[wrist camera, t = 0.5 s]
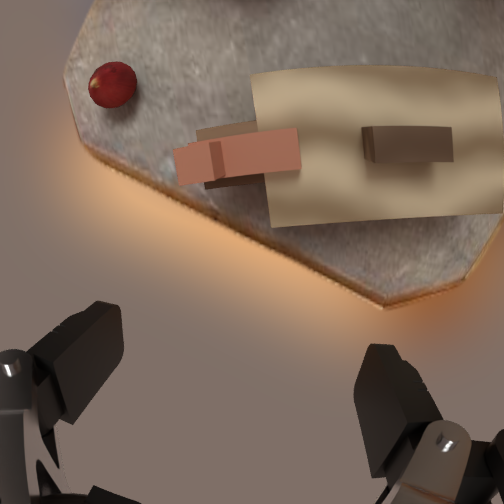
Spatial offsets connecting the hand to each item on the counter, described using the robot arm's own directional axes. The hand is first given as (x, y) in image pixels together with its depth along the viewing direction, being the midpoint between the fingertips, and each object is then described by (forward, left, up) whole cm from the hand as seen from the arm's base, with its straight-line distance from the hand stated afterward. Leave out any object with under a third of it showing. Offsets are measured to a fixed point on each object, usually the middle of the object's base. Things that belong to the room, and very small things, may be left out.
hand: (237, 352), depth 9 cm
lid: (-5, +10, -19) cm, 22 cm away
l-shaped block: (-5, -2, -17) cm, 18 cm away
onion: (-16, -18, -29) cm, 37 cm away
